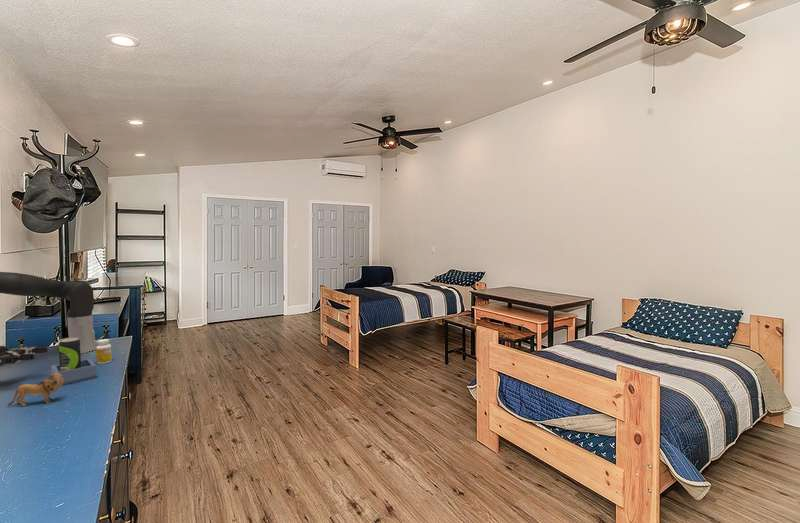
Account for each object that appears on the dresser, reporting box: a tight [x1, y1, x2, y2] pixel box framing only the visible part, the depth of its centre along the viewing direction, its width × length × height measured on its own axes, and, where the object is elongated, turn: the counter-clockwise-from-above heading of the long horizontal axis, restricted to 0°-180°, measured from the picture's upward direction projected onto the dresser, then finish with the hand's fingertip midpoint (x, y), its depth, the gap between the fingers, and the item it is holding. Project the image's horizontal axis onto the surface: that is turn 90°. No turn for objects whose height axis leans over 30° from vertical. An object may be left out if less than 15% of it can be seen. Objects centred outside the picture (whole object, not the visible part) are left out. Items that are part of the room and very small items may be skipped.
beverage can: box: [58, 337, 82, 372], centre depth 150 cm, size 6×6×15 cm
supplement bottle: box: [95, 338, 113, 365], centre depth 171 cm, size 5×5×10 cm
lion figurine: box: [7, 373, 64, 407], centre depth 131 cm, size 15×5×9 cm, turn 119°
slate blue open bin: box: [50, 358, 98, 386], centre depth 152 cm, size 12×12×5 cm
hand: (40, 353), depth 149 cm, fingers open, 8 cm apart
